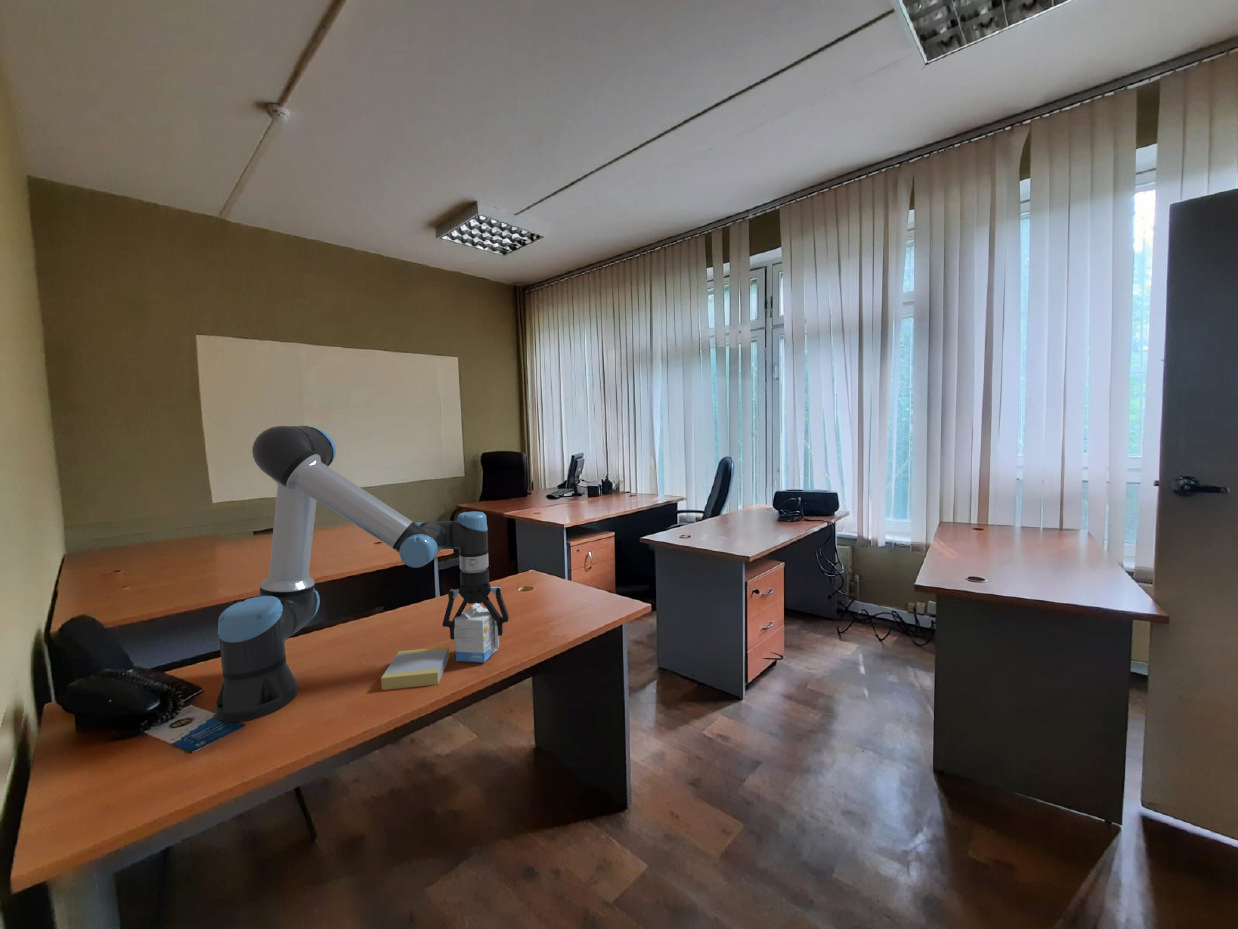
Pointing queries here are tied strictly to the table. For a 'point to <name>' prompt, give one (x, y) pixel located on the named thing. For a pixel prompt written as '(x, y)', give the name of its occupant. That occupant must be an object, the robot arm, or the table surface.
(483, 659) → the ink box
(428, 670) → the dock
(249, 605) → the robot arm
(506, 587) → the table surface
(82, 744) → the table surface
